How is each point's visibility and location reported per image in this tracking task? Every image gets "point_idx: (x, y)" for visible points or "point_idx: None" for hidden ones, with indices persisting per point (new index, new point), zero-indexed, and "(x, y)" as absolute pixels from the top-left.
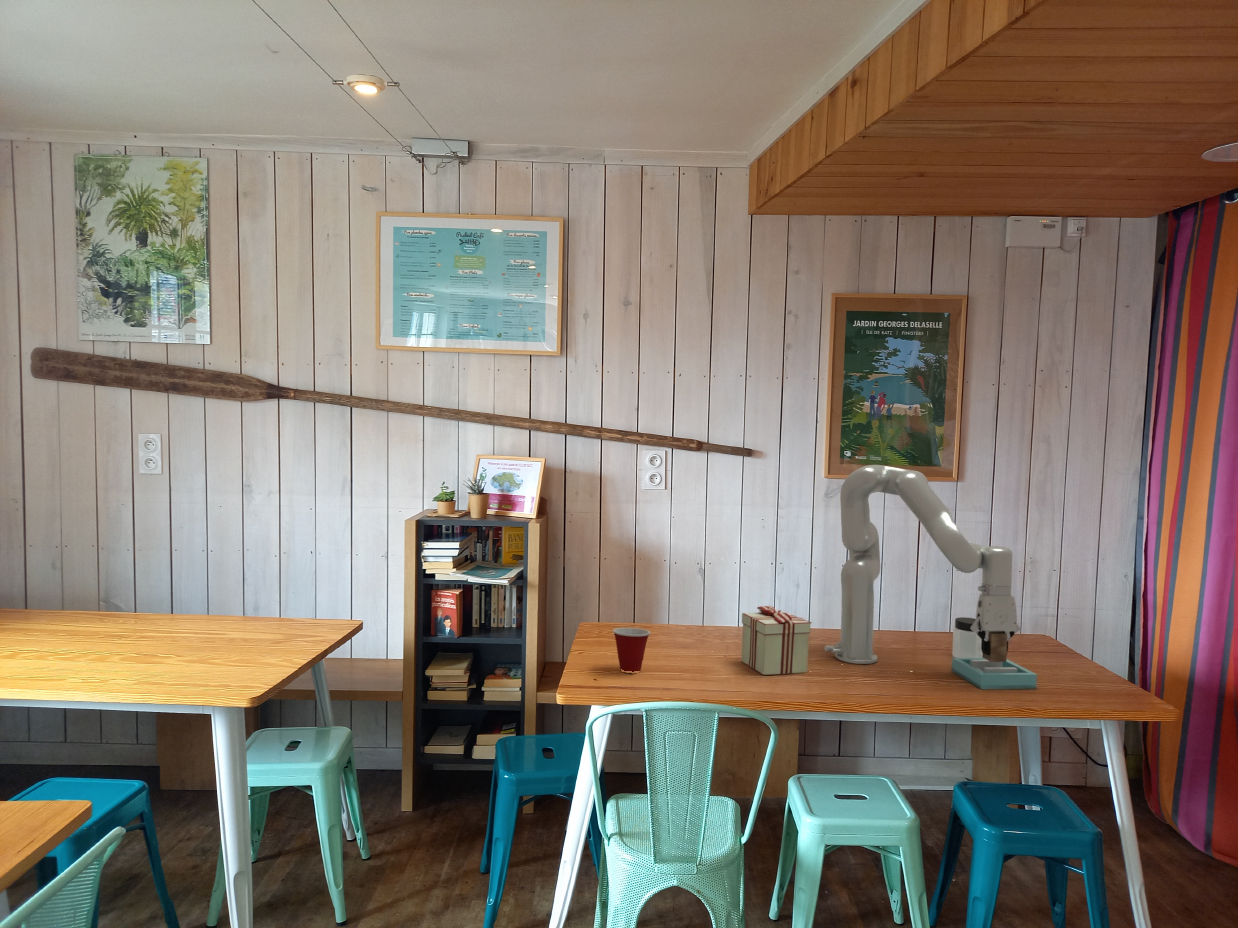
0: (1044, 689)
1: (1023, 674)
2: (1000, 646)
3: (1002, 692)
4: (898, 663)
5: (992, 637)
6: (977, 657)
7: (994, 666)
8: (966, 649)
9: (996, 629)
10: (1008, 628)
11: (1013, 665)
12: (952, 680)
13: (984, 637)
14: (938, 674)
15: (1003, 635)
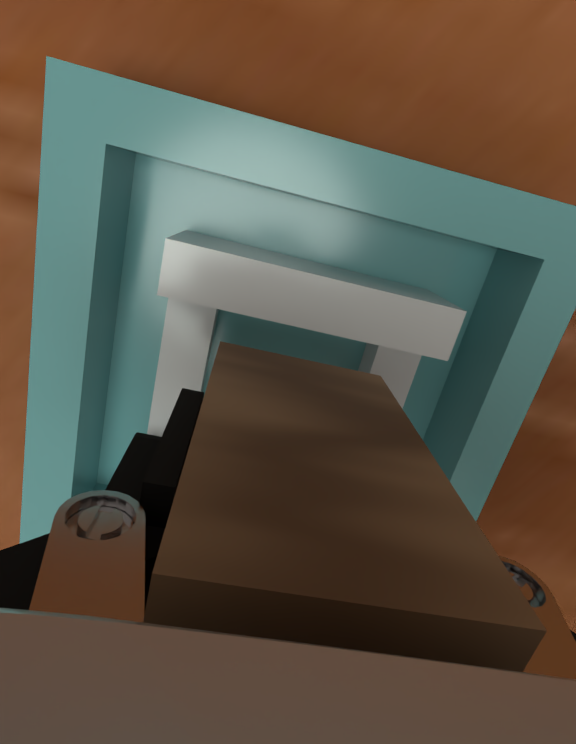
0: (41, 53)
1: (202, 103)
2: (301, 434)
3: (452, 96)
4: None
5: (490, 559)
6: None
7: None
8: None
9: (569, 713)
10: (108, 699)
11: (82, 383)
12: (552, 414)
13: (554, 619)
14: (529, 520)
15: (259, 551)
